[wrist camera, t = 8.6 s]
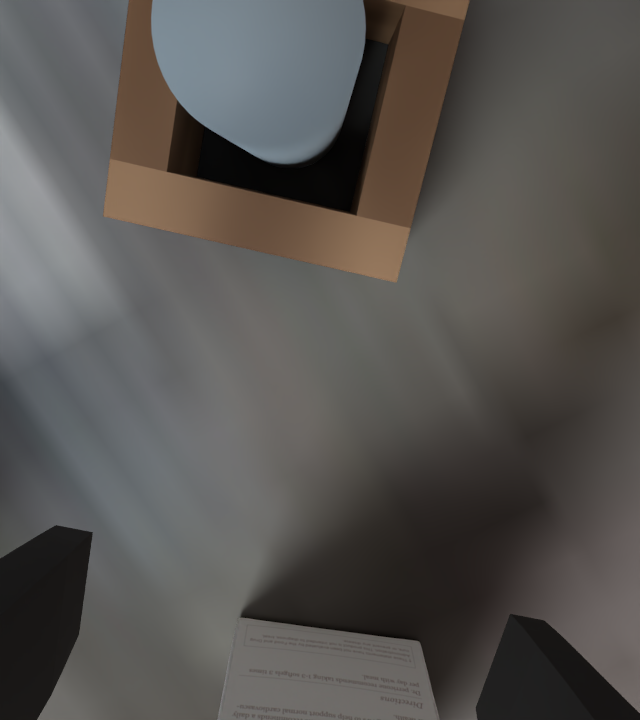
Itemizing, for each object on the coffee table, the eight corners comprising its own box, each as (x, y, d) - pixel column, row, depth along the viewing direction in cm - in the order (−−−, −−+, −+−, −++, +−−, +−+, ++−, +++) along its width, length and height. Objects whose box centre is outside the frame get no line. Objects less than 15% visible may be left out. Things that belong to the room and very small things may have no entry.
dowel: (226, 154, 18) (135, 114, 9) (248, 40, 17) (171, -123, 8) (329, 180, 18) (336, 166, 9) (356, 68, 17) (390, -61, 8)
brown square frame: (144, 212, 18) (102, 216, 15) (183, -65, 16) (145, -137, 13) (382, 266, 19) (396, 282, 15) (448, 2, 17) (482, -49, 13)
